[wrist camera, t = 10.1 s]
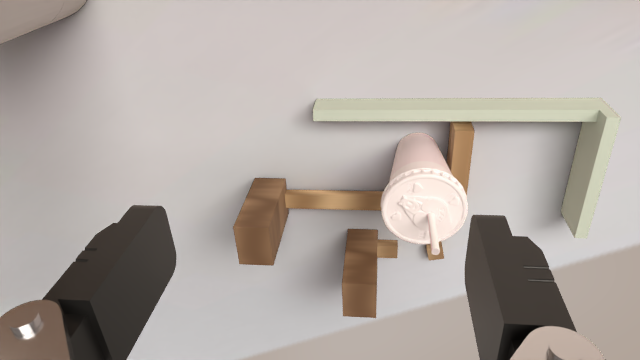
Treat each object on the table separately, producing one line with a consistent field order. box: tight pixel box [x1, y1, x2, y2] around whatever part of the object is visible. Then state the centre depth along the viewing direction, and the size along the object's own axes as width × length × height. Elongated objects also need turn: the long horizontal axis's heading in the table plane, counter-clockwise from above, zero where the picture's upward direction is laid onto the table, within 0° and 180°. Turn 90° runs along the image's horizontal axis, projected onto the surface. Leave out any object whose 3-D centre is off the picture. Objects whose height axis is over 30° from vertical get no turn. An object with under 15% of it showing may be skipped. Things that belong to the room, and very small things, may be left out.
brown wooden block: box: [342, 229, 444, 318], centre depth 47 cm, size 10×4×8 cm, turn 93°
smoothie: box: [381, 133, 468, 255], centre depth 39 cm, size 6×6×14 cm
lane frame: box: [313, 98, 621, 238], centre depth 43 cm, size 24×11×4 cm, turn 93°
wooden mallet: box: [233, 121, 474, 265], centre depth 42 cm, size 20×10×8 cm, turn 93°
